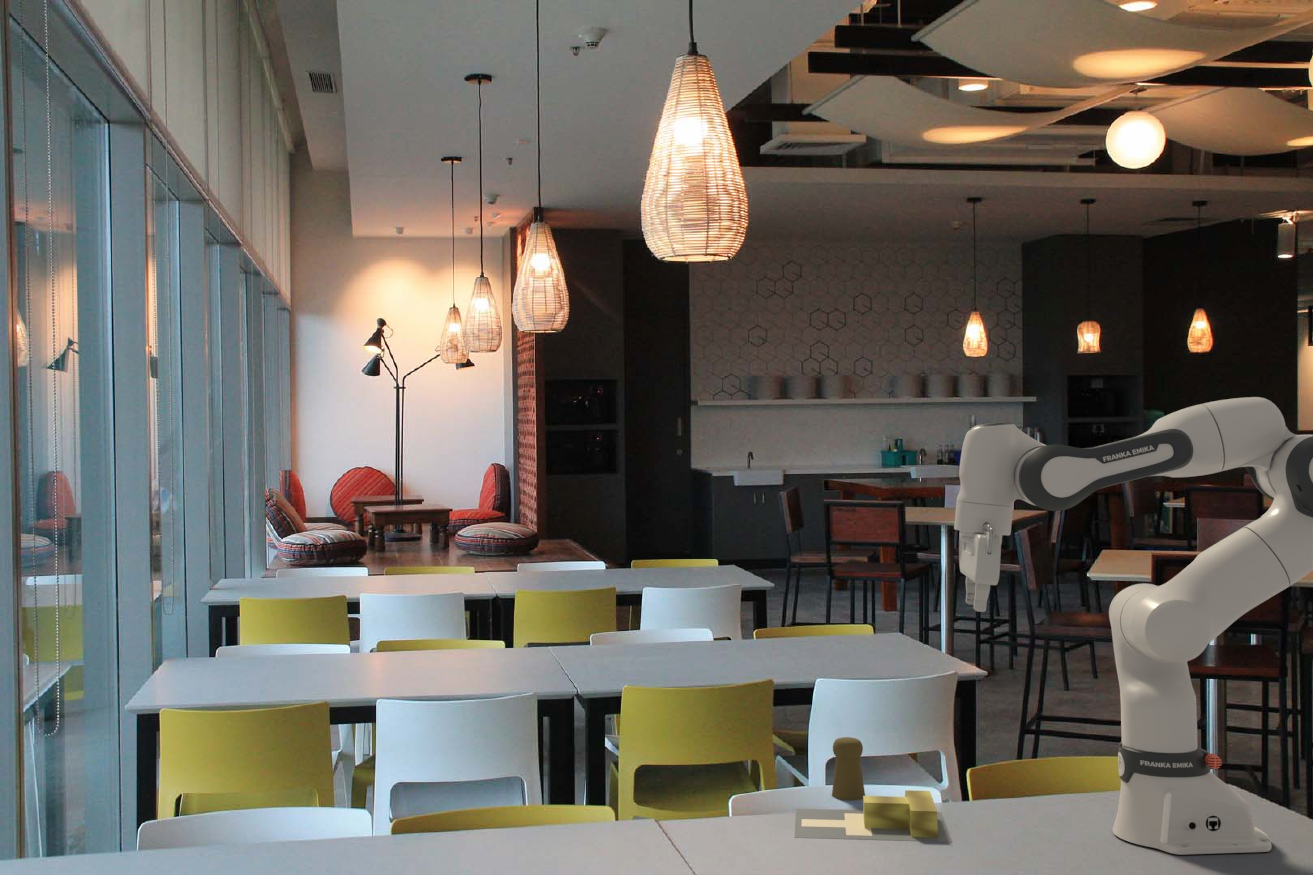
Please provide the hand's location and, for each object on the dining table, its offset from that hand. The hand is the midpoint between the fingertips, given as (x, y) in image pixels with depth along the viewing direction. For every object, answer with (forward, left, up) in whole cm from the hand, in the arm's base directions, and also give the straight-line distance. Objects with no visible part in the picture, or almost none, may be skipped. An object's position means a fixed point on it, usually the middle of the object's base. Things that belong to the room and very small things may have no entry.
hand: (975, 607), depth 193 cm
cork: (+20, -16, -36) cm, 44 cm away
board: (+17, +1, -36) cm, 40 cm away
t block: (+13, +1, -35) cm, 37 cm away
